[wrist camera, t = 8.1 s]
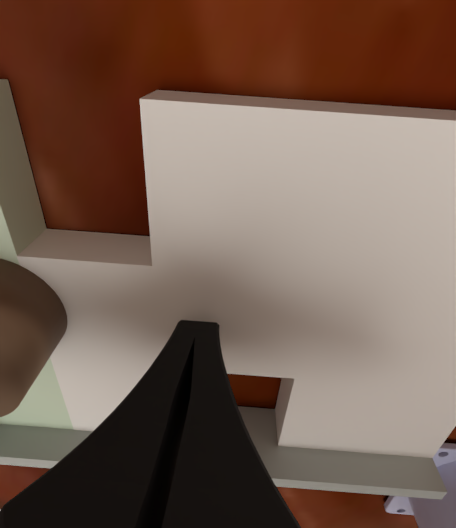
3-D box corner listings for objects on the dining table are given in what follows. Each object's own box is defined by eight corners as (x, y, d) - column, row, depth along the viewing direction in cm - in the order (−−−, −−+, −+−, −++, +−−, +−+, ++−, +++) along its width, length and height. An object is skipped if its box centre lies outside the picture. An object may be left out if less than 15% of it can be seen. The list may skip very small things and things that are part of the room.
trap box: (595, 120, 10) (806, 165, 6) (410, 427, 19) (452, 525, 15) (-141, 69, 10) (-367, 83, 6) (10, 396, 19) (-49, 484, 15)
